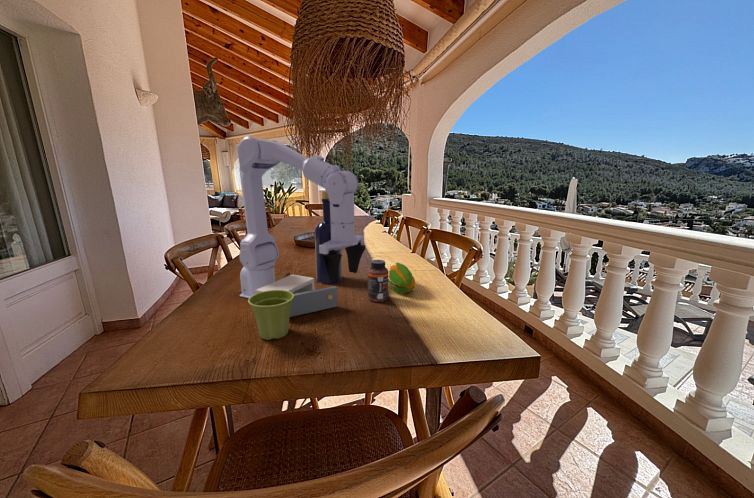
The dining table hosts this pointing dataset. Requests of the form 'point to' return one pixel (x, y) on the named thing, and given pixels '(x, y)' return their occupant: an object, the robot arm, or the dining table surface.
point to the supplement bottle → (378, 281)
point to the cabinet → (291, 284)
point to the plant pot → (272, 312)
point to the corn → (401, 278)
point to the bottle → (322, 237)
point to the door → (313, 301)
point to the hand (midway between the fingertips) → (343, 276)
